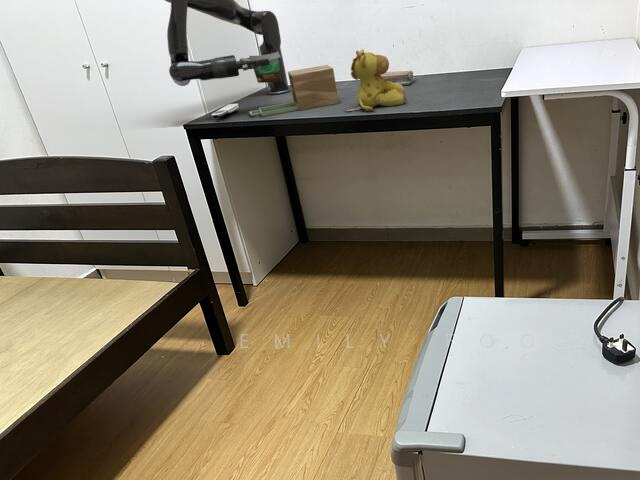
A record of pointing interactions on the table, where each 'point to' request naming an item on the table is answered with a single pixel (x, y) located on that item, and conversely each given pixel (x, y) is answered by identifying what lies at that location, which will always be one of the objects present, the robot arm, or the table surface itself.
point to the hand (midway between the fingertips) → (267, 60)
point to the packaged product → (399, 77)
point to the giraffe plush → (375, 82)
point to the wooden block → (313, 87)
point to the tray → (275, 108)
